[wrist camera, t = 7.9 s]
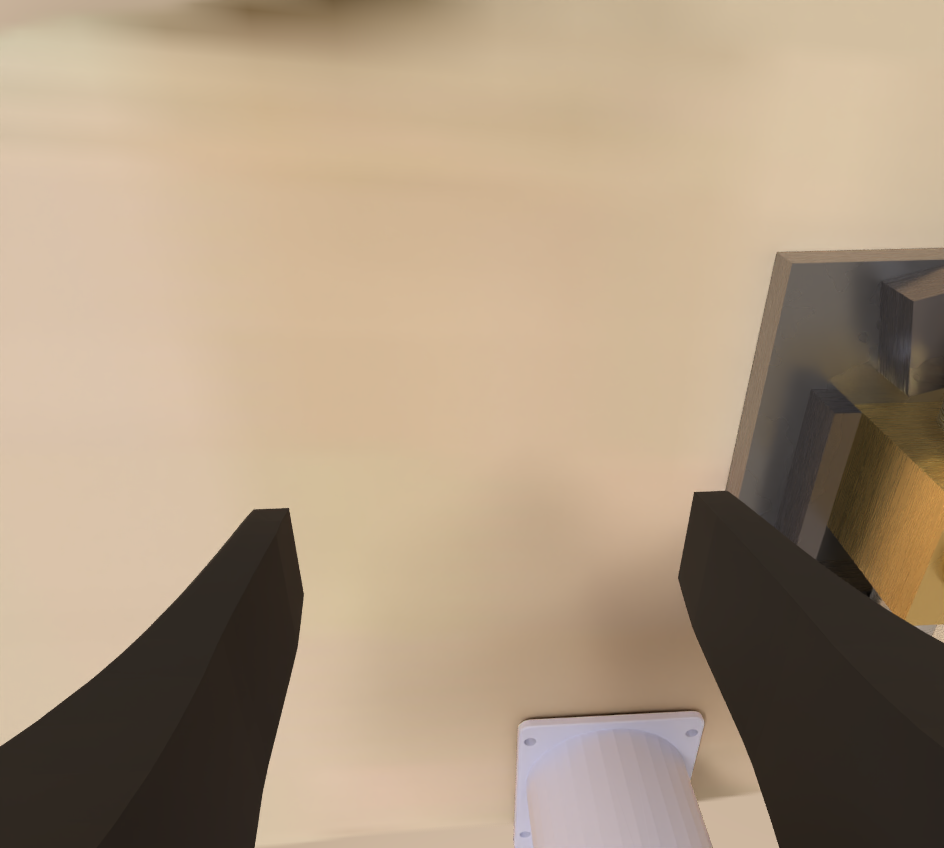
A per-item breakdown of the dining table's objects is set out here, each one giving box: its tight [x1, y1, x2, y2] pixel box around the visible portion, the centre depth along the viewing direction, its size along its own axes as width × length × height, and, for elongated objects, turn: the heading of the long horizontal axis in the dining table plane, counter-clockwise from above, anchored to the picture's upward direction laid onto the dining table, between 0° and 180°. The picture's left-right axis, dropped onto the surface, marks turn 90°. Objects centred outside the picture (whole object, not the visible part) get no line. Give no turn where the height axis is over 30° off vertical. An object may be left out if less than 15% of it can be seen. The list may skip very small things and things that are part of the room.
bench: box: [726, 248, 944, 636], centre depth 23 cm, size 16×10×5 cm, turn 0°
